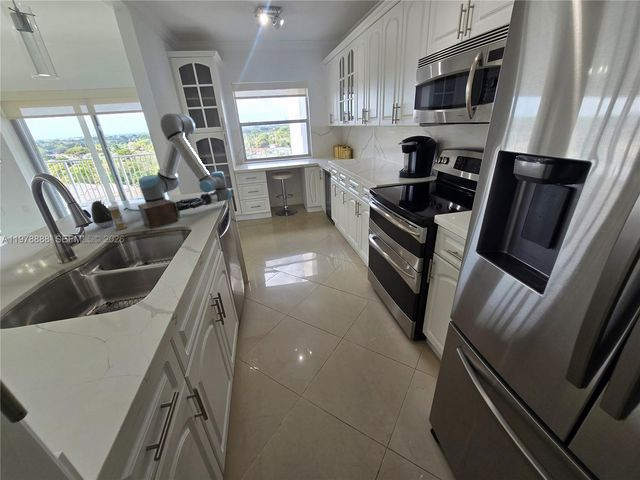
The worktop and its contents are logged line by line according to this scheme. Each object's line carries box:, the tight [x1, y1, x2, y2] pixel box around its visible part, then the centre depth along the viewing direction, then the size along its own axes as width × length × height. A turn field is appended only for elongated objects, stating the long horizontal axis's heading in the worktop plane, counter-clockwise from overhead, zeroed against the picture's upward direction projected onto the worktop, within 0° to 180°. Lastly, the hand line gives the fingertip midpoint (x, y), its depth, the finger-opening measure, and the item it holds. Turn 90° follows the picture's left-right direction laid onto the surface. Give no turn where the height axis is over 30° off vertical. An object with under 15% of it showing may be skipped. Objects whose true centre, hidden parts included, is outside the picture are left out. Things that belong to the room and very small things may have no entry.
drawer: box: [167, 199, 185, 220], centre depth 153 cm, size 18×11×10 cm, turn 137°
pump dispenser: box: [90, 199, 115, 228], centre depth 148 cm, size 10×10×15 cm
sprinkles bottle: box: [107, 204, 127, 231], centre depth 143 cm, size 5×5×13 cm
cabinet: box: [137, 198, 179, 229], centre depth 149 cm, size 15×13×12 cm
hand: (174, 207), depth 155 cm, fingers closed on drawer, 11 cm apart
